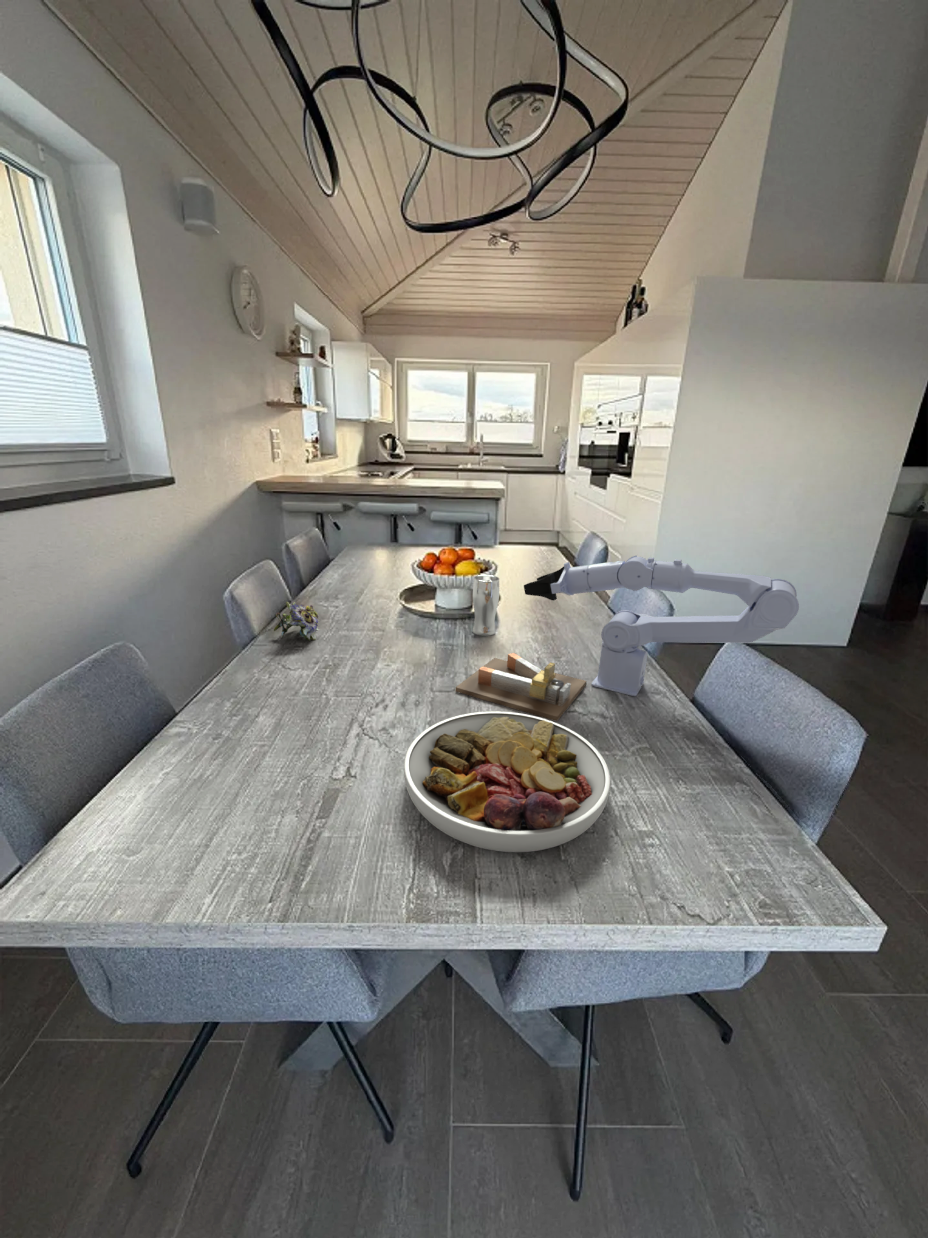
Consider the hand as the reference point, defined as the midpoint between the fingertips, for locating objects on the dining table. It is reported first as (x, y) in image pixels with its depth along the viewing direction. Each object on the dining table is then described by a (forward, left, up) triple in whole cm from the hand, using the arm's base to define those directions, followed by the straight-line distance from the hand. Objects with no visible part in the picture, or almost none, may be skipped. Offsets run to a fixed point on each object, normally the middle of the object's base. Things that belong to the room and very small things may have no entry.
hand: (531, 585), depth 117 cm
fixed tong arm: (-6, +15, -18) cm, 24 cm away
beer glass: (+17, -12, -19) cm, 28 cm away
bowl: (-16, +45, -19) cm, 51 cm away
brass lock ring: (-10, +16, -17) cm, 25 cm away
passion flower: (+54, +19, -19) cm, 61 cm away
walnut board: (-5, +13, -19) cm, 23 cm away
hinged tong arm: (-6, +11, -17) cm, 21 cm away
